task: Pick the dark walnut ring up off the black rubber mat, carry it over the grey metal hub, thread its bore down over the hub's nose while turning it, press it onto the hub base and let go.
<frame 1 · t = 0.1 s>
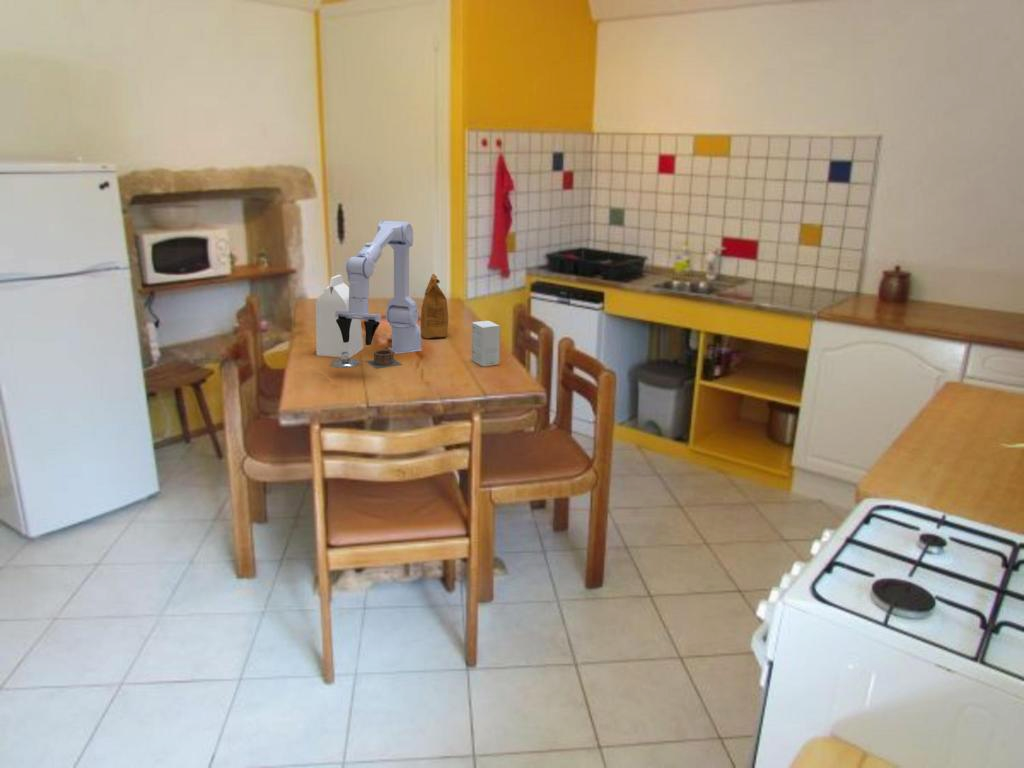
hand: (357, 343, 224), 10 cm above the table, tool pointing down, fingers open, 7 cm apart
milk: (340, 354, 251), on the table
ring: (384, 363, 239), point 1 cm above the table, touching mat
hub: (345, 365, 238), on the table
coffee package: (434, 335, 276), on the table
small box: (485, 363, 244), on the table
mat: (384, 364, 239), on the table
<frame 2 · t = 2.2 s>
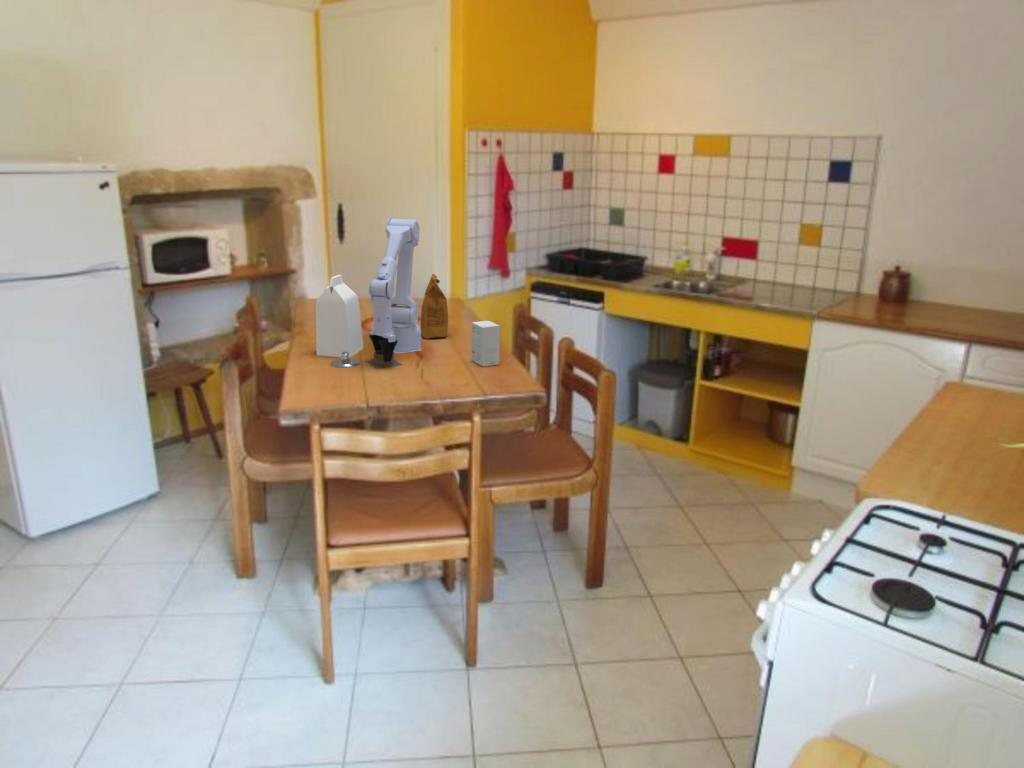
hand: (383, 358, 239), 2 cm above the table, tool pointing down, fingers closed on ring, 6 cm apart
ring: (384, 363, 239), point 1 cm above the table, touching gripper, mat
everything else where it was.
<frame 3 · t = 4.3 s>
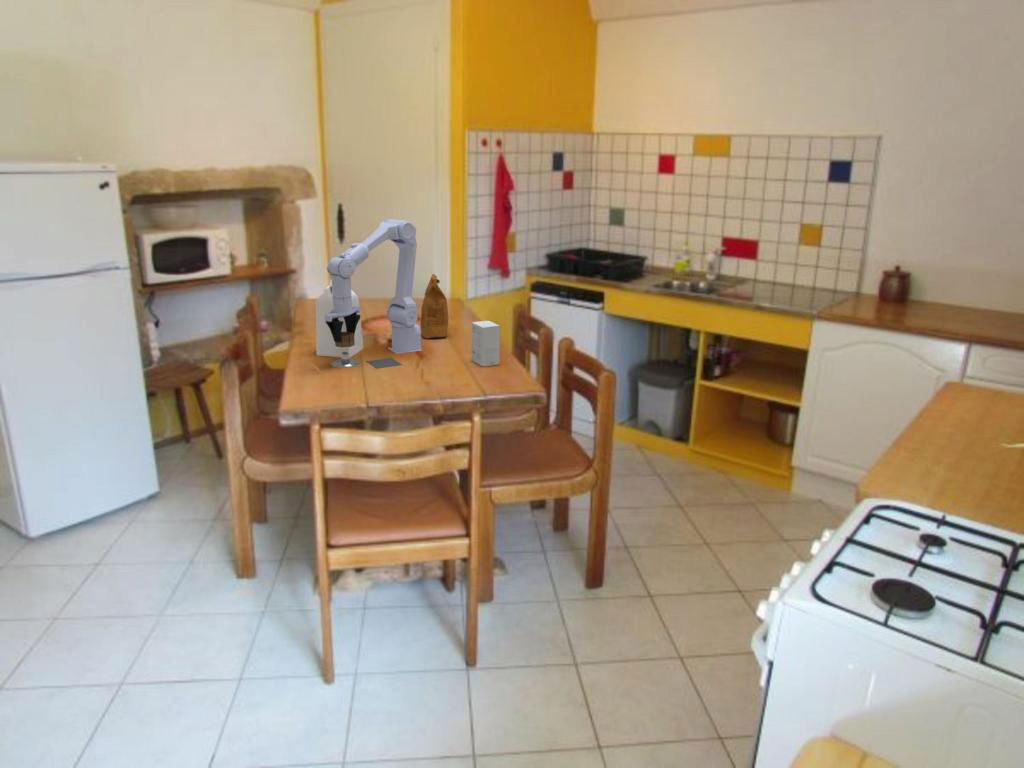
hand: (344, 339, 235), 9 cm above the table, tool pointing down, fingers closed on ring, 6 cm apart
ring: (344, 344, 236), point 7 cm above the table, touching gripper
everything else where it was.
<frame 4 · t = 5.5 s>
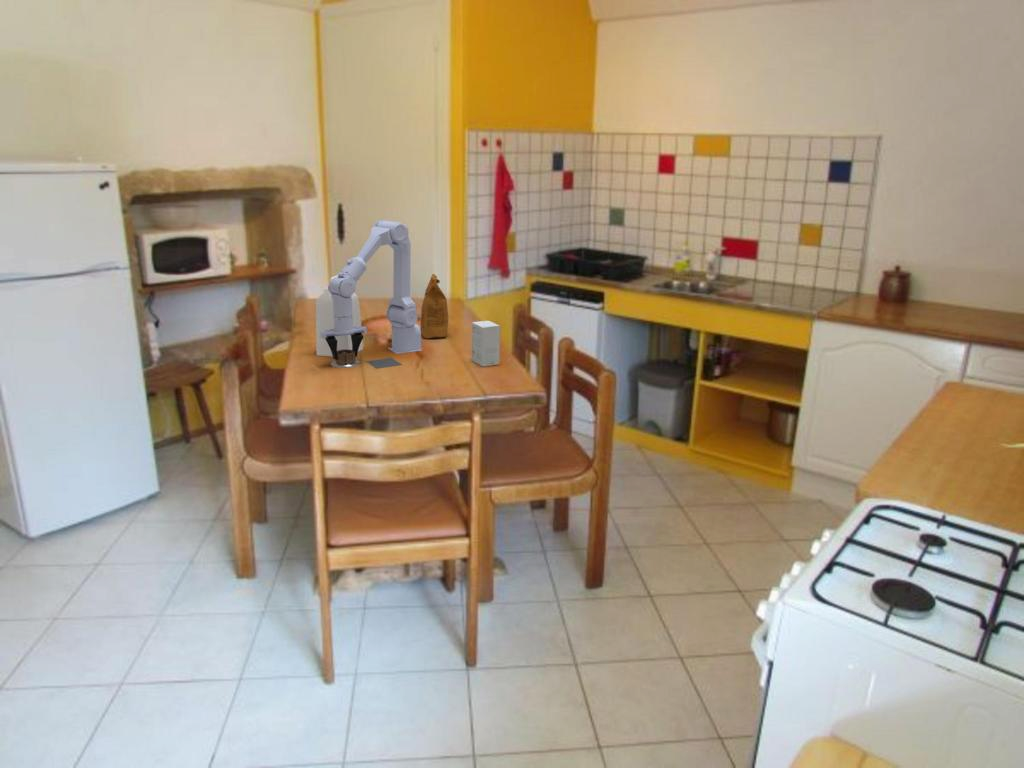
hand: (345, 357, 237), 3 cm above the table, tool pointing down, fingers closed on ring, 6 cm apart
ring: (345, 362, 237), point 1 cm above the table, touching gripper, hub
everything else where it was.
when the fingers open (3 cm above the table, at t = 6.3 s): ring stays where it is, resting on hub.
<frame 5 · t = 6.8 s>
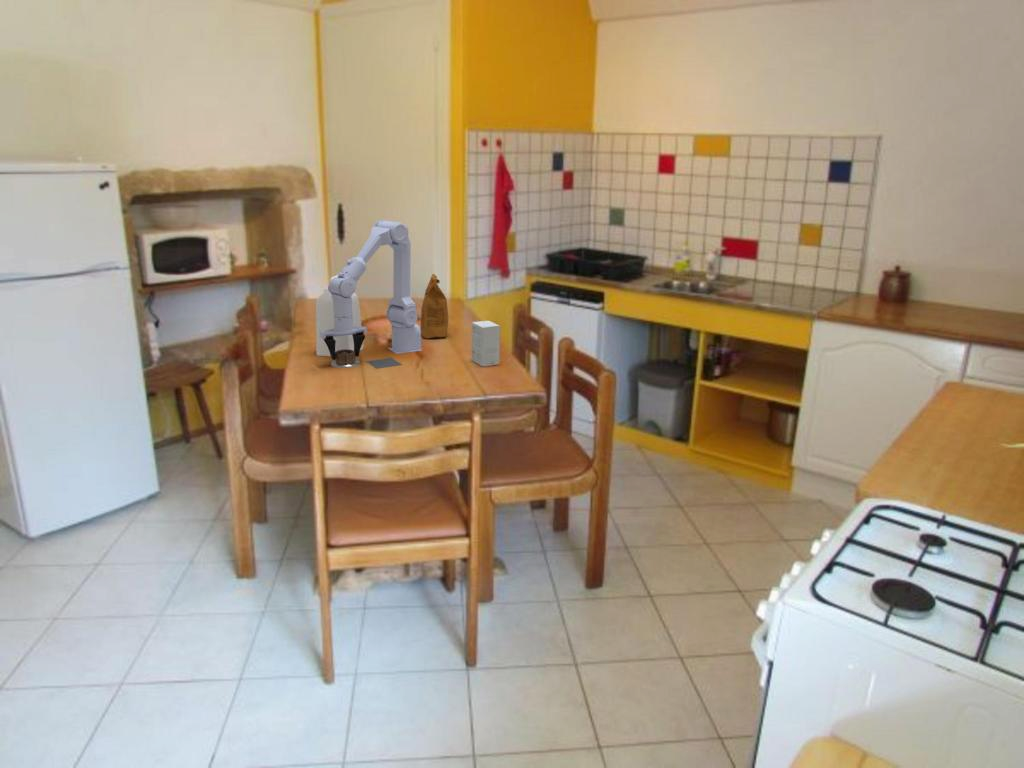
hand: (345, 357, 237), 3 cm above the table, tool pointing down, fingers open, 7 cm apart
ring: (345, 362, 237), point 1 cm above the table, touching hub
everything else where it was.
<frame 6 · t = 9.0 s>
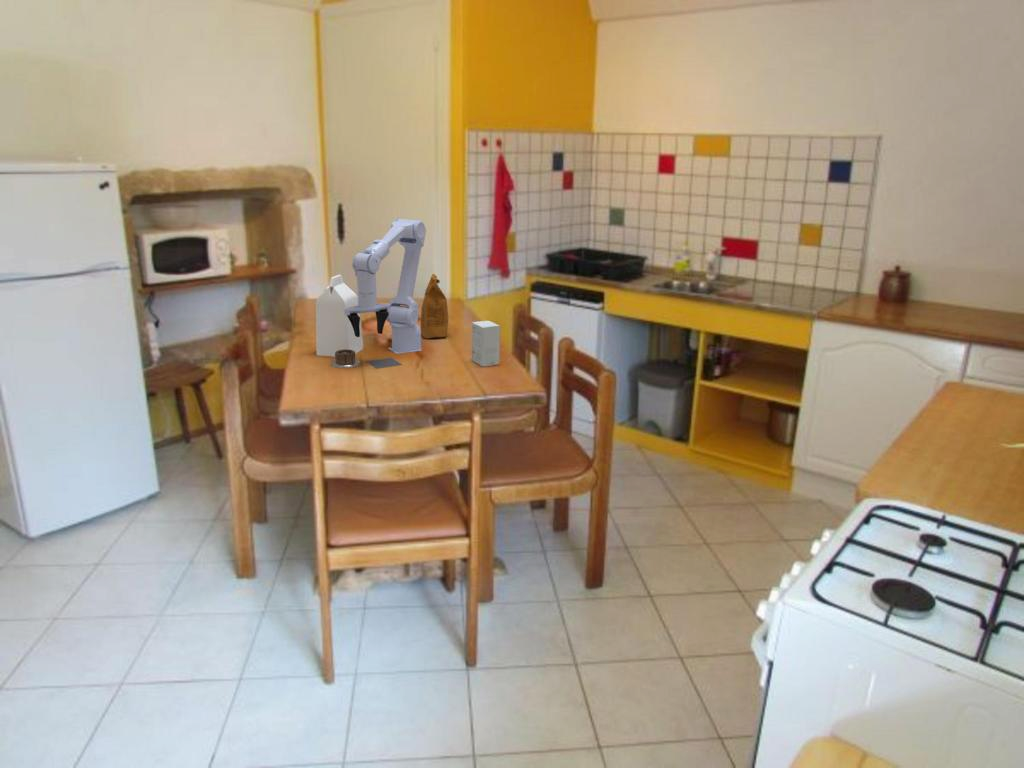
hand: (368, 334, 236), 10 cm above the table, tool pointing down, fingers open, 7 cm apart
nothing on the table moved.
at the end: ring 0.2 cm off-centre on the hub, point 1.0 cm above the hub's base; ring tilted 0°; the gripper is holding nothing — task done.
